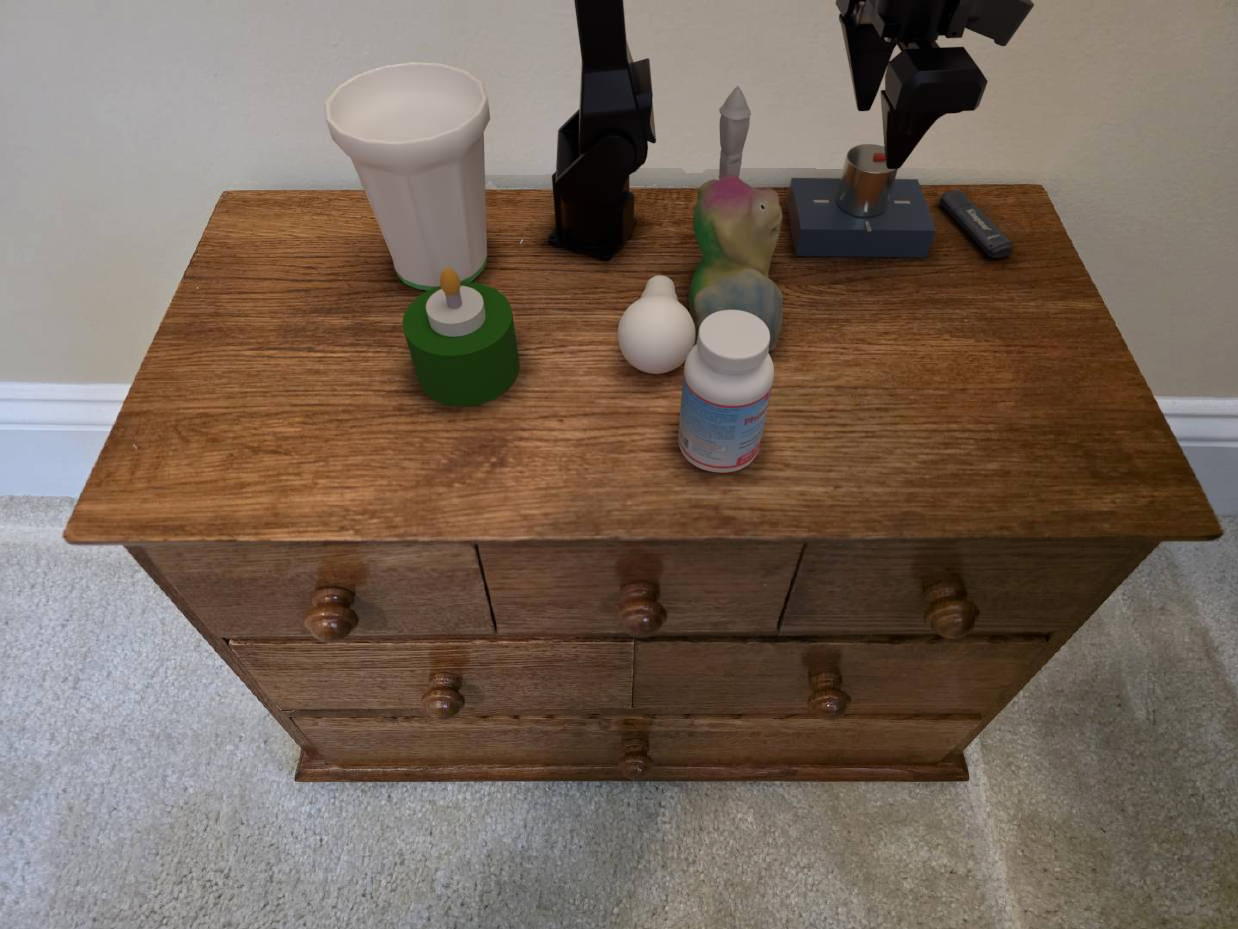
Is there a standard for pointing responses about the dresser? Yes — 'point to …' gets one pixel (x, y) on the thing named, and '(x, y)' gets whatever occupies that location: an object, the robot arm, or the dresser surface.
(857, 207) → the dial knob
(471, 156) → the cup
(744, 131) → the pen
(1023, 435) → the dresser surface
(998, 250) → the usb stick
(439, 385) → the candle
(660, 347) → the lightbulb
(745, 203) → the sculpture
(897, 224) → the dial base
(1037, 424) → the dresser surface
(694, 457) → the pill bottle
